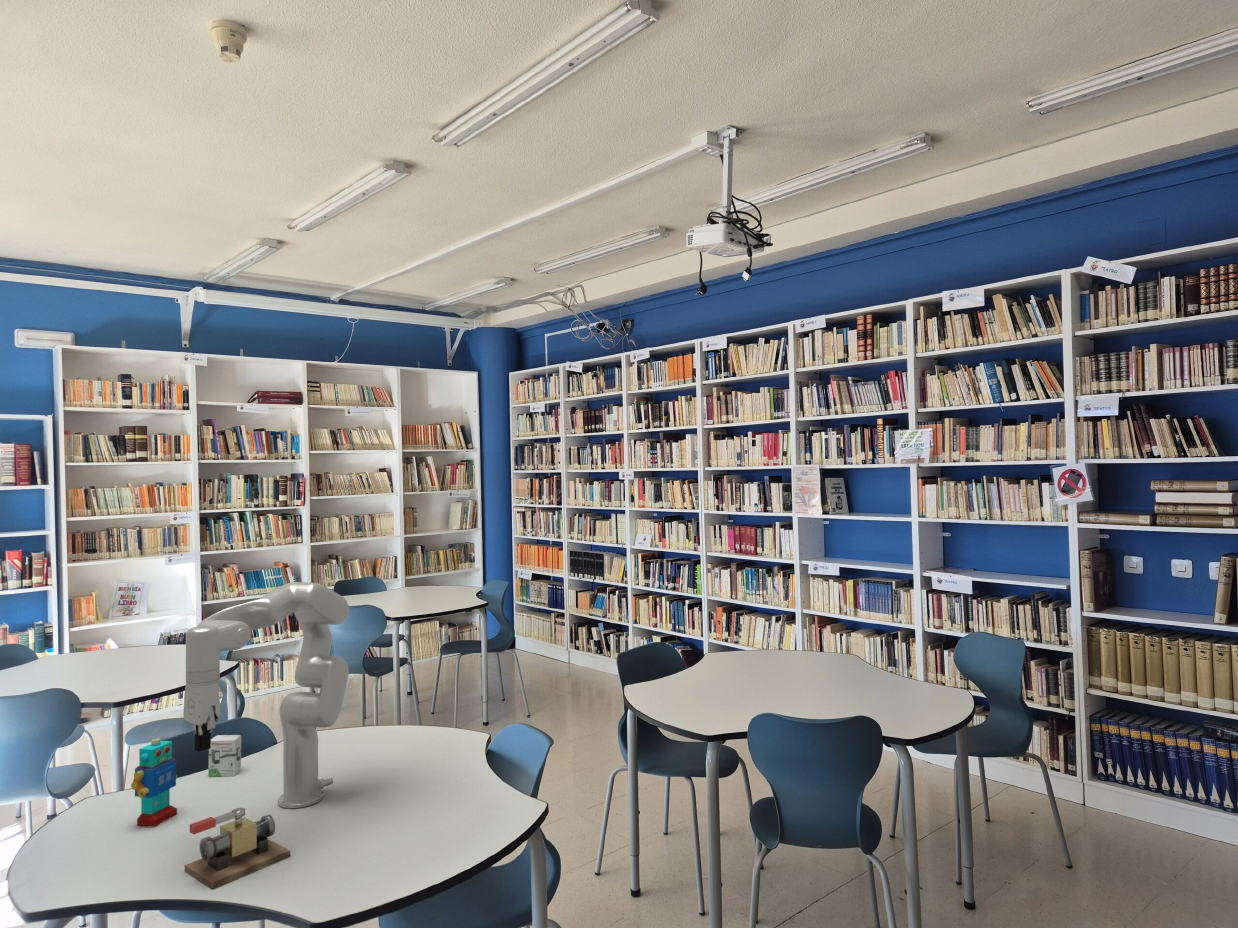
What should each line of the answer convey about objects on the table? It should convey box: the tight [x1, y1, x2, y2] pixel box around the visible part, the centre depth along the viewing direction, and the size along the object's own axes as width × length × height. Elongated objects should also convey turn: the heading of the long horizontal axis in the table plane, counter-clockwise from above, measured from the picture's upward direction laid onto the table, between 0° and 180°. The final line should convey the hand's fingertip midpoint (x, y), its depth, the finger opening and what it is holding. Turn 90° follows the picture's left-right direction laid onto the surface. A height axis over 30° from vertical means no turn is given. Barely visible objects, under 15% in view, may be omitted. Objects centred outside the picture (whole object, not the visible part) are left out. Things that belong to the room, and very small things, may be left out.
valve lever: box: [189, 807, 246, 835], centre depth 183 cm, size 12×3×2 cm, turn 144°
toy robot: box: [130, 729, 178, 828], centre depth 212 cm, size 12×6×25 cm, turn 168°
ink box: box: [207, 734, 242, 778], centre depth 245 cm, size 9×5×12 cm, turn 93°
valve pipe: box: [199, 814, 276, 871], centre depth 186 cm, size 16×6×10 cm, turn 143°
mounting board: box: [184, 838, 291, 890], centre depth 186 cm, size 19×14×2 cm
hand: (202, 749), depth 190 cm, fingers closed
